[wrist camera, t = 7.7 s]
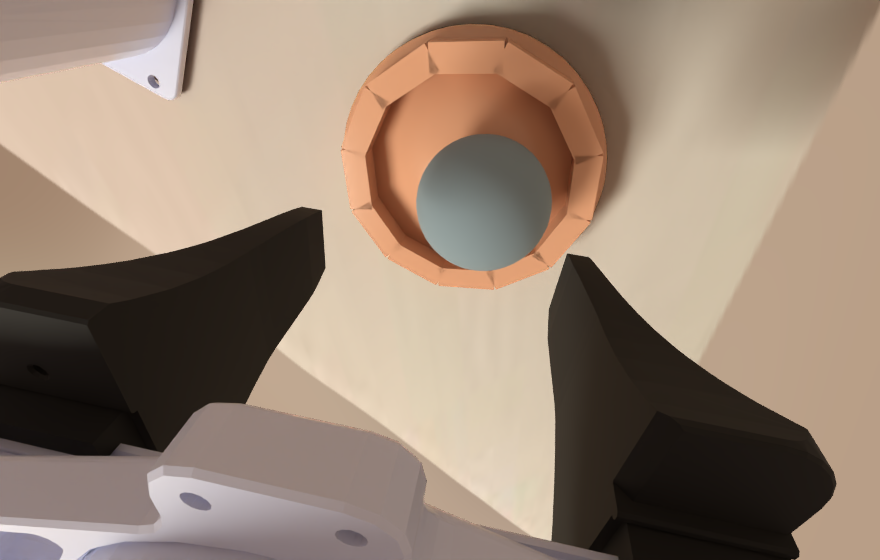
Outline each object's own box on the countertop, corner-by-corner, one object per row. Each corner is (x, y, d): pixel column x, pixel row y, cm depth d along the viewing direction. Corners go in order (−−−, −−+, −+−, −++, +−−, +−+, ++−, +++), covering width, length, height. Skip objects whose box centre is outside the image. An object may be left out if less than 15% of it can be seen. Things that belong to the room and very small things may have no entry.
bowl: (316, 205, 21) (303, 220, 20) (412, -43, 15) (401, -45, 14) (507, 310, 23) (506, 330, 21) (667, 125, 16) (679, 137, 15)
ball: (388, 206, 18) (402, 275, 14) (443, 92, 16) (477, 138, 12) (486, 242, 20) (521, 312, 16) (547, 147, 18) (605, 201, 14)
